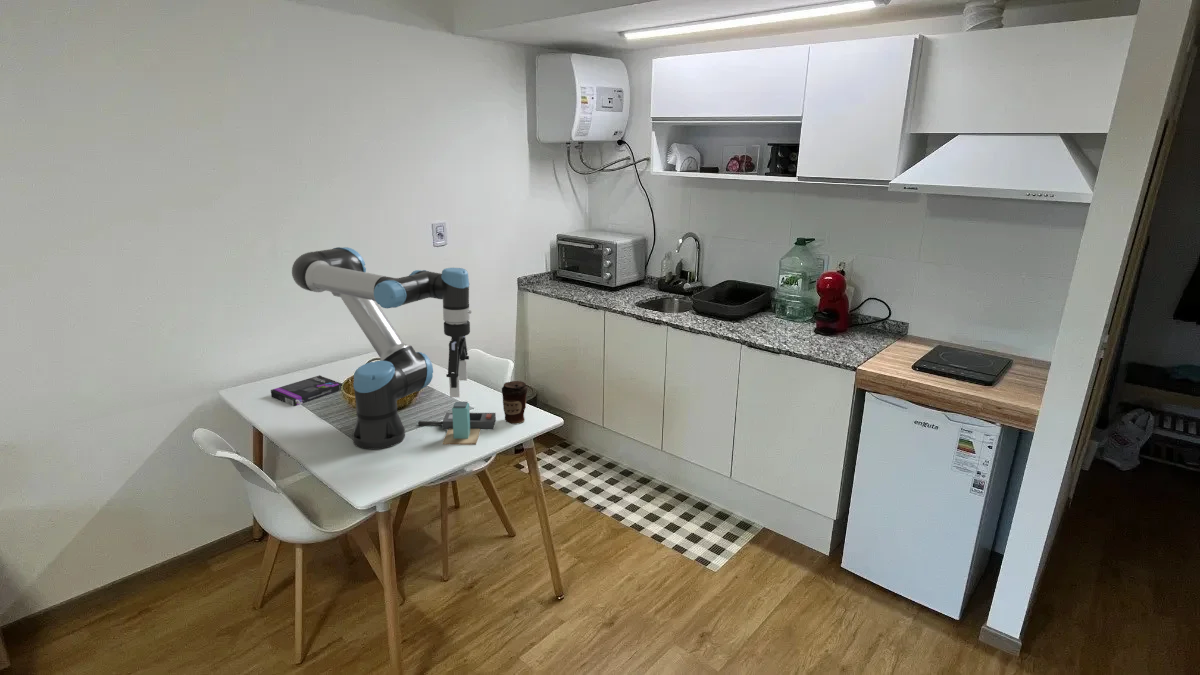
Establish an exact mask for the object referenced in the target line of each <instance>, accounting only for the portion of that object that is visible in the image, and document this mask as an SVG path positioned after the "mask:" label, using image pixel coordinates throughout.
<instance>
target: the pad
mask: <svg viewBox="0 0 1200 675" xmlns="http://www.w3.org/2000/svg"><path fill="white" fill-rule="evenodd" d="M480 433H481V430H480V429H470V435H469V438H468V439H454V435H453V429H448V430H447V432H446V435H445V436H444V439H443V441H442V445H477V443H478V439H479V436H480Z"/></svg>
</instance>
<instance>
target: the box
mask: <svg viewBox="0 0 1200 675" xmlns="http://www.w3.org/2000/svg"><path fill="white" fill-rule="evenodd" d="M342 384H343V382H342V383H341V382H339V381H336V380H333V379H331V378H327V377H325V376H322V375H320V374H319V375H316V376H313V377H310V378H306V379H303V380H300V381H295V382H292V383H290V384H285V385H283V386H279V387H276V388H273V389H270V396H271V399H274V400H277V401H279V402H282V403H285V404H287V405H290V406H292V407H296V406H297V407H298V406H299V405H302V404H305V403H308V402H311V401H314V400H317V399H320V398H323V397H326V396H328V395H331V394H335V393H337V392H340V391H342V390H341V386H342Z"/></svg>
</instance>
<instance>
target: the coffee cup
mask: <svg viewBox="0 0 1200 675" xmlns="http://www.w3.org/2000/svg"><path fill="white" fill-rule="evenodd" d="M527 393H528V386H527V384H526V382H524V381H521V380H520V381H519V380H512V381H507V382H504V383H503V386H502V387H501V396H502V406H503V412H504V421H505V423H508V424H511V425H516V424H522V423H524V422H525V420H526V419H525V416H524V414H525V410H526V407H527Z"/></svg>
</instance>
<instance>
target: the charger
mask: <svg viewBox="0 0 1200 675" xmlns="http://www.w3.org/2000/svg"><path fill="white" fill-rule="evenodd" d="M451 409H452V410H451V411H452V412H451V413H452V414H453V435H454V439H468V438H469V435H470V413H471V412H470V403H469V402H468V401H455V402H454V404H453V406H452V408H451Z"/></svg>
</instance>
